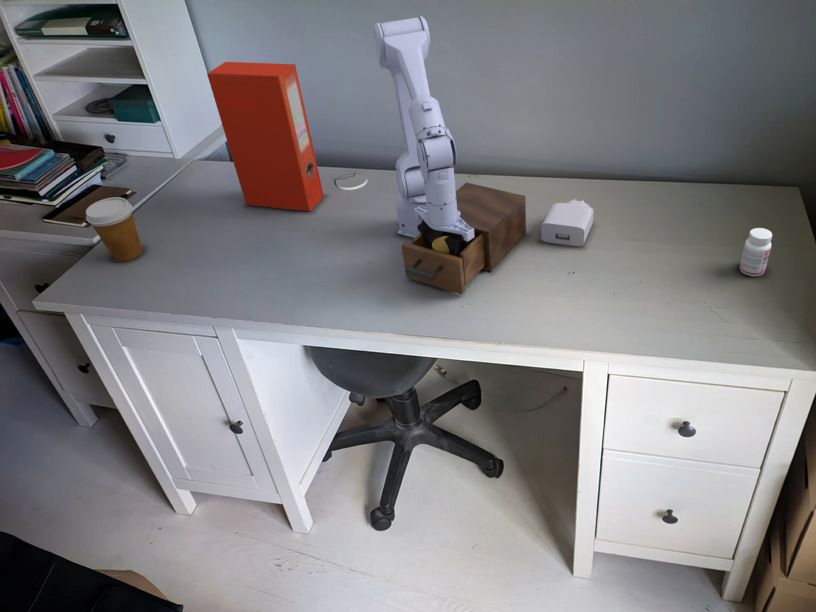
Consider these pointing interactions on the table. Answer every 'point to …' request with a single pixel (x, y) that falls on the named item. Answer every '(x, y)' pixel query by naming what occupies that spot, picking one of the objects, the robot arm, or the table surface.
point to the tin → (440, 245)
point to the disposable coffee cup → (115, 227)
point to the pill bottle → (756, 252)
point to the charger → (567, 223)
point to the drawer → (444, 263)
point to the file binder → (267, 134)
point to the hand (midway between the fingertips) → (447, 258)
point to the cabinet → (493, 218)
